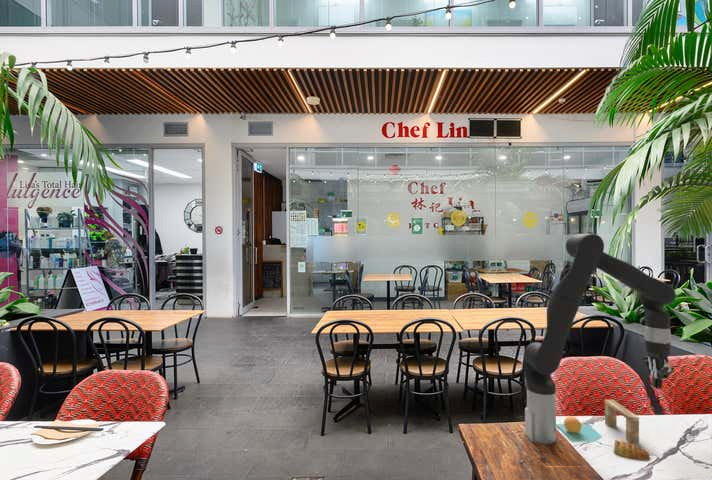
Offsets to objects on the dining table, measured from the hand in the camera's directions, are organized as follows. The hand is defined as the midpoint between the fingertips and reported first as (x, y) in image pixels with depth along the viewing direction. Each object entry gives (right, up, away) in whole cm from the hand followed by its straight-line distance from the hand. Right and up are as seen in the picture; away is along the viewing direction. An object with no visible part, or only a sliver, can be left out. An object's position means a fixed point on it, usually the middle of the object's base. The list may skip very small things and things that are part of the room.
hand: (657, 387), depth 139 cm
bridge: (-13, -17, 0) cm, 21 cm away
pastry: (-19, -17, -13) cm, 29 cm away
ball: (-29, -14, +1) cm, 33 cm away
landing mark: (-27, -17, +1) cm, 31 cm away
